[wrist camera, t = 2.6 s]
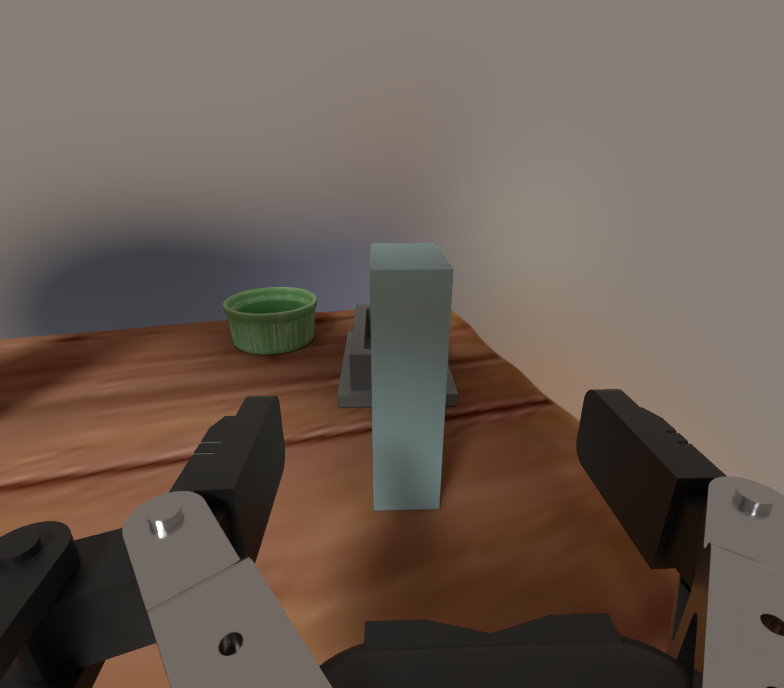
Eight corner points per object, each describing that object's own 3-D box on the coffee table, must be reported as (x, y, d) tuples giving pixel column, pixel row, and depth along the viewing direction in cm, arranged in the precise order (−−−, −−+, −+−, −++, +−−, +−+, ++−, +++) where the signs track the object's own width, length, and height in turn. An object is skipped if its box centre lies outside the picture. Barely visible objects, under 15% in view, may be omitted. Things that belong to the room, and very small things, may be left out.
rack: (337, 407, 33) (335, 358, 32) (348, 340, 45) (346, 302, 44) (457, 405, 33) (461, 357, 32) (436, 339, 45) (438, 302, 44)
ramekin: (300, 362, 41) (296, 317, 39) (210, 354, 42) (202, 310, 40) (331, 328, 49) (328, 289, 47) (254, 322, 50) (250, 284, 49)
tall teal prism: (373, 510, 24) (369, 269, 19) (374, 443, 29) (371, 243, 24) (439, 508, 24) (453, 269, 19) (427, 442, 29) (435, 243, 24)
